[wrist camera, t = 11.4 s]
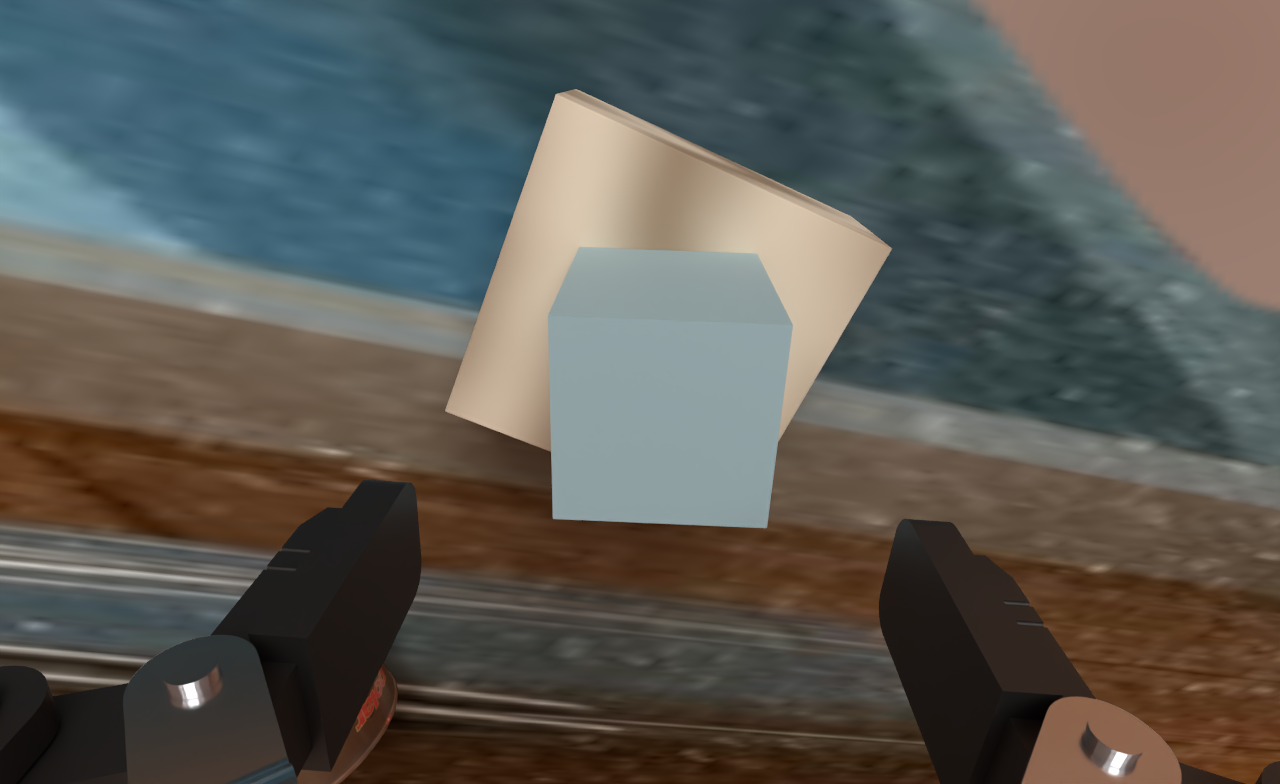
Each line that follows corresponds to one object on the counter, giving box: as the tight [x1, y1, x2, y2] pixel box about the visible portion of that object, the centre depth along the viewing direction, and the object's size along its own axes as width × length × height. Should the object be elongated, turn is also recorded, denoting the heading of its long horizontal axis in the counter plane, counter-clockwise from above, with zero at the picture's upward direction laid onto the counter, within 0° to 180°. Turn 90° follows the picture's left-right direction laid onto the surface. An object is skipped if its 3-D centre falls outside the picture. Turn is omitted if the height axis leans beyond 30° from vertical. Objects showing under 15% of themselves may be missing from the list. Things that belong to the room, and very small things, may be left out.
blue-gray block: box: [548, 247, 793, 528], centre depth 18 cm, size 5×5×6 cm
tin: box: [297, 663, 398, 784], centre depth 29 cm, size 15×3×8 cm, turn 106°
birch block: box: [445, 89, 892, 452], centre depth 23 cm, size 10×10×5 cm
